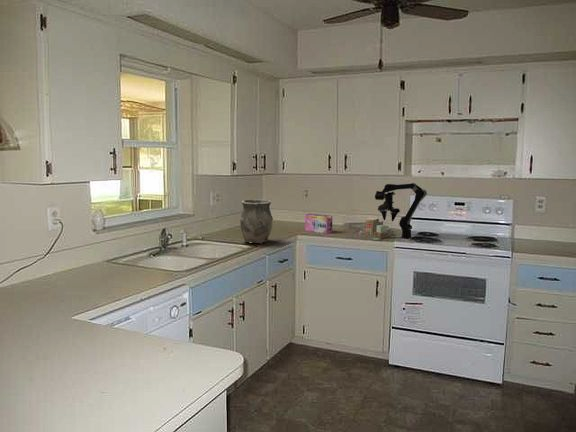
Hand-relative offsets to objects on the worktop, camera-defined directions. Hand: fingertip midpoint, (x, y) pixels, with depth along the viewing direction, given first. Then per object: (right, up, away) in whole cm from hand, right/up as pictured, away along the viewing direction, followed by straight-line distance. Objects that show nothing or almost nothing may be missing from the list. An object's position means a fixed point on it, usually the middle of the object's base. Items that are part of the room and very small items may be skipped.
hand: (388, 220), depth 364 cm
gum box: (-52, -9, +23) cm, 58 cm away
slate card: (-12, -14, -14) cm, 23 cm away
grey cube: (0, -11, +6) cm, 13 cm away
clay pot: (-99, -15, -24) cm, 103 cm away
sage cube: (-7, -9, -5) cm, 12 cm away
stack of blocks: (-8, -11, +15) cm, 20 cm away
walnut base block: (-7, -13, -5) cm, 15 cm away
